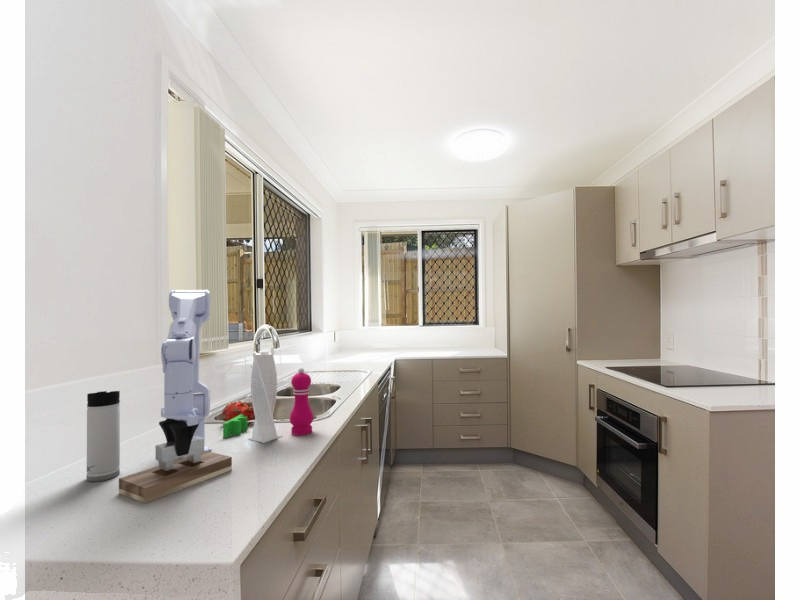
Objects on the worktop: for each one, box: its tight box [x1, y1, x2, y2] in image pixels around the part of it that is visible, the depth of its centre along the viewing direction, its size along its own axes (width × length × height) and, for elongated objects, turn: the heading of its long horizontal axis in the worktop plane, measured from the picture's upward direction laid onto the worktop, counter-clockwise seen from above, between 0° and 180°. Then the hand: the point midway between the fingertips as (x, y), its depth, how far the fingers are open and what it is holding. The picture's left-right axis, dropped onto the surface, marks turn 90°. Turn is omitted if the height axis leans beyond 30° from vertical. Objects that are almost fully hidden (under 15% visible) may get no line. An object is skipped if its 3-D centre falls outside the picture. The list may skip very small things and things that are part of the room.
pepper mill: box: [289, 367, 314, 436], centre depth 130 cm, size 7×7×20 cm
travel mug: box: [86, 390, 121, 483], centre depth 97 cm, size 6×7×20 cm
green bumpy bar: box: [222, 414, 248, 439], centre depth 131 cm, size 11×4×5 cm, turn 175°
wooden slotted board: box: [118, 451, 233, 504], centre depth 94 cm, size 10×20×3 cm, turn 150°
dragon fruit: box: [221, 400, 255, 426], centre depth 141 cm, size 8×8×12 cm
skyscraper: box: [247, 345, 283, 444], centre depth 124 cm, size 8×8×28 cm
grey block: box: [155, 436, 204, 471], centre depth 94 cm, size 4×9×5 cm, turn 141°
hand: (178, 453), depth 94 cm, fingers closed on grey block, 3 cm apart
